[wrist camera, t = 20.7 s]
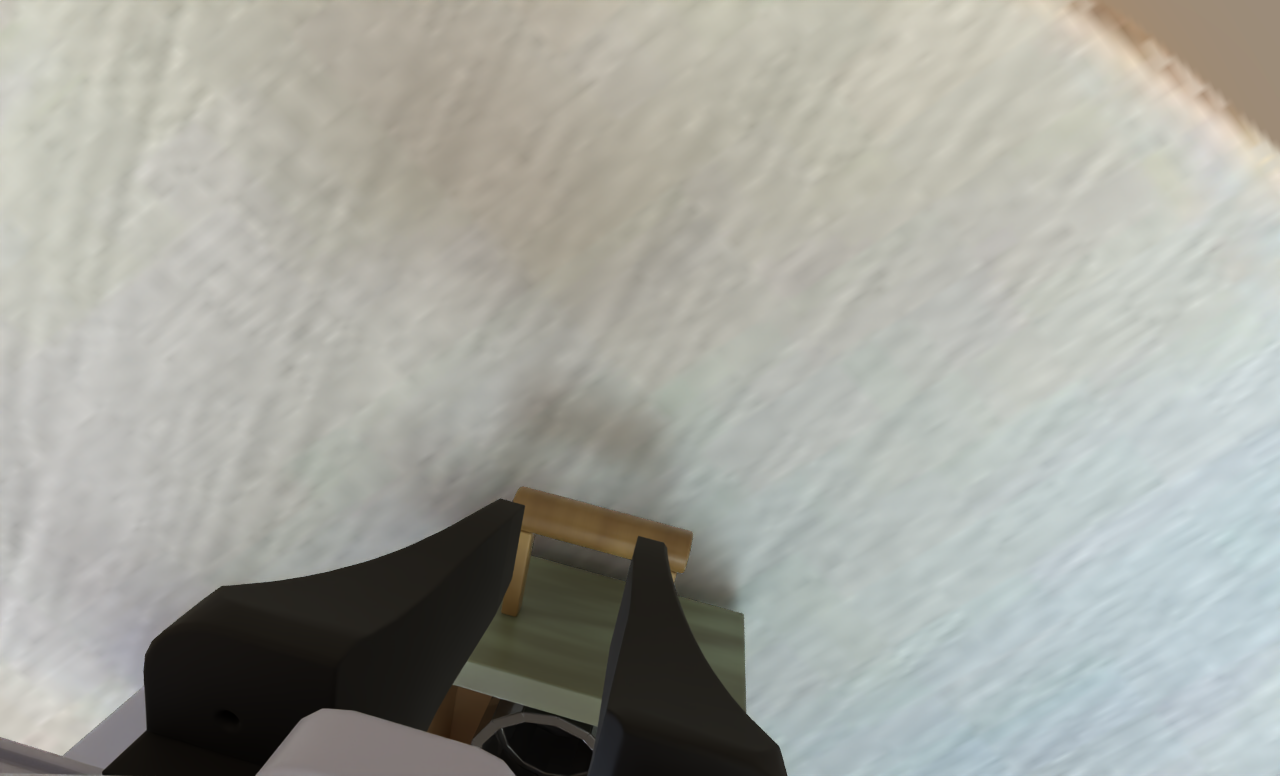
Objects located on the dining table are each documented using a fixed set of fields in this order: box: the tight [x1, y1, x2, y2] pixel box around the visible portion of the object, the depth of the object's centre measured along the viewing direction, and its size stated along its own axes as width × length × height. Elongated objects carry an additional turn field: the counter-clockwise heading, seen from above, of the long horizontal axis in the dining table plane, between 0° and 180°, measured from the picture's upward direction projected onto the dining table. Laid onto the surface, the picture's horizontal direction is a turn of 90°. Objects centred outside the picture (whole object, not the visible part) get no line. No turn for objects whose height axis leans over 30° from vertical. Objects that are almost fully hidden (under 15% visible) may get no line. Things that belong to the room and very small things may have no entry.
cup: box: [471, 696, 597, 776], centre depth 25 cm, size 6×6×4 cm
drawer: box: [427, 486, 746, 745], centre depth 24 cm, size 17×12×6 cm
